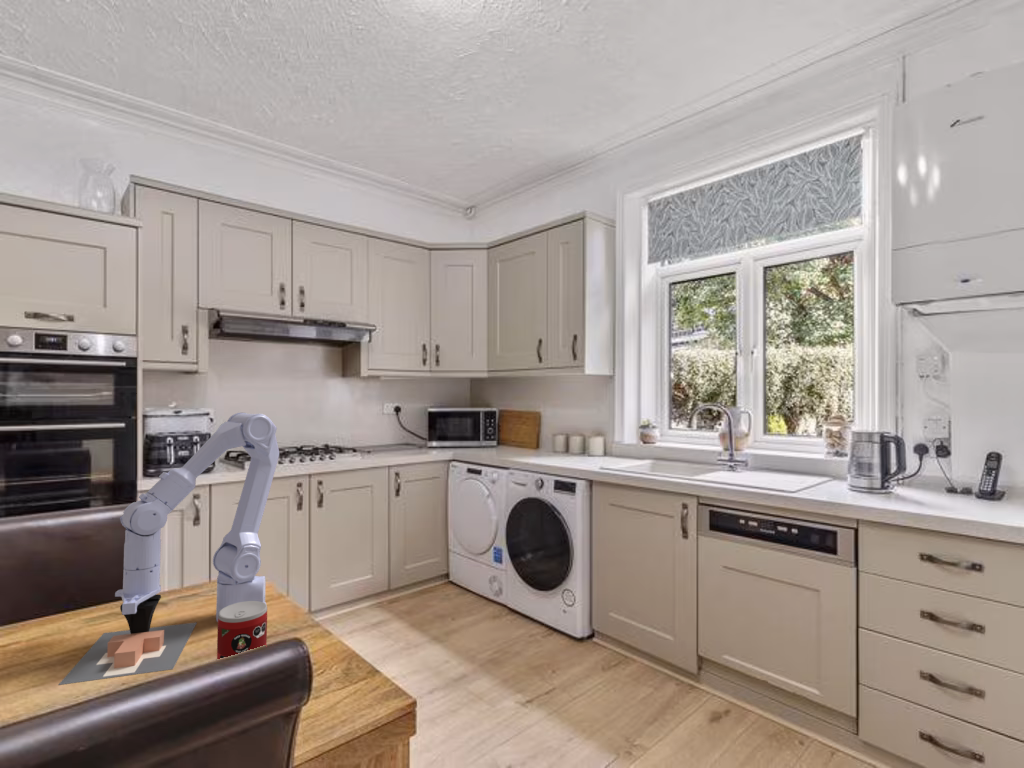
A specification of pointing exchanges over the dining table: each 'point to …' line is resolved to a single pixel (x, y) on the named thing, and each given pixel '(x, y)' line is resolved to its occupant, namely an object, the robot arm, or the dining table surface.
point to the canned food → (241, 628)
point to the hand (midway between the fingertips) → (140, 638)
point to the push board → (102, 666)
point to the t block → (133, 647)
